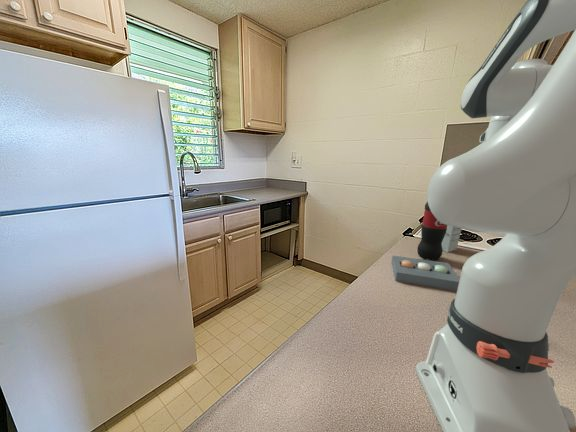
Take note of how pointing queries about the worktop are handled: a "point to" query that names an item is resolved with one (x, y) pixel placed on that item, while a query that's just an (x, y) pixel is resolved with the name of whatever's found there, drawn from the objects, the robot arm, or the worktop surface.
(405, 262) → the terracotta button
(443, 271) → the sage button
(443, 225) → the cola bottle
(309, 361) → the worktop surface
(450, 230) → the supplement box
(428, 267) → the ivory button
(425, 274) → the panel
